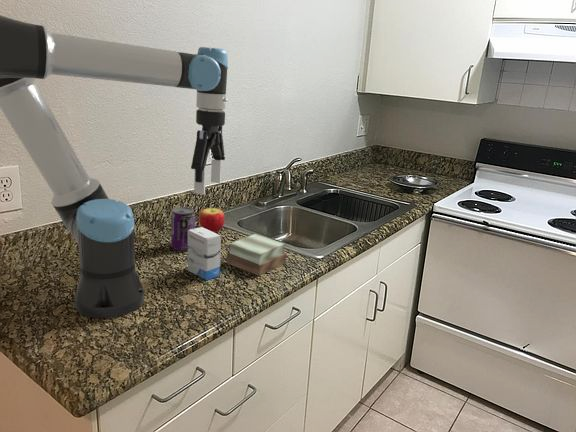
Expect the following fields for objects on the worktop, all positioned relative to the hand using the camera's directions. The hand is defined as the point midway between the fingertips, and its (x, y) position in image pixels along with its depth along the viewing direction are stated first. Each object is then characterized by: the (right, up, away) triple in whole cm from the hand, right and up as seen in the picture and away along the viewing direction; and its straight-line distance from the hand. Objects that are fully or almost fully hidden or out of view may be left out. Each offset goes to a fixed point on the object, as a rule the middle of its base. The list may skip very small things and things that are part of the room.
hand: (208, 187), depth 134 cm
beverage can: (-10, -18, +13) cm, 24 cm away
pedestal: (+13, -21, +5) cm, 26 cm away
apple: (-3, -13, +27) cm, 30 cm away
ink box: (-1, -23, -3) cm, 24 cm away
